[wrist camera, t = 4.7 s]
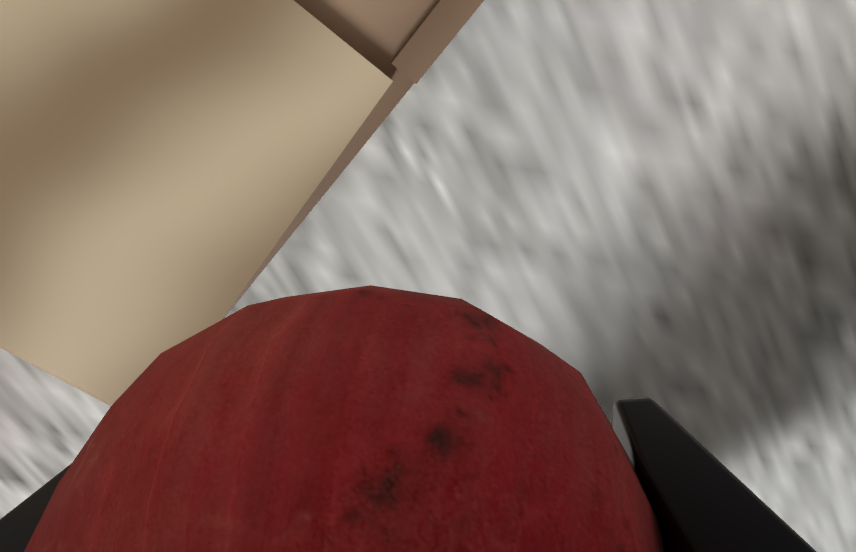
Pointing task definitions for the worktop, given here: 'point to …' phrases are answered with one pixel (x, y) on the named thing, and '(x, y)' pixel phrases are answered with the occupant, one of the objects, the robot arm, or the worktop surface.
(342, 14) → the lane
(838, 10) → the worktop surface
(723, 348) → the worktop surface
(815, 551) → the robot arm
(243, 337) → the onion
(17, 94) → the ramp
